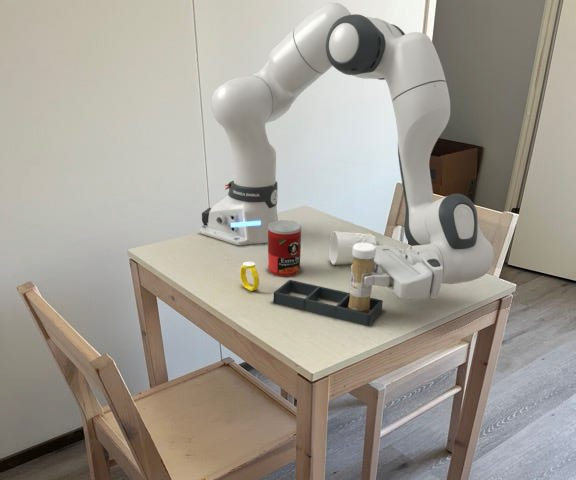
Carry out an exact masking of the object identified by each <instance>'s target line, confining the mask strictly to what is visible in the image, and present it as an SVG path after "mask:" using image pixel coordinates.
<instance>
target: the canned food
mask: <svg viewBox="0 0 576 480" xmlns="http://www.w3.org/2000/svg"><path fill="white" fill-rule="evenodd" d="M301 247H302V225H301V224H300V223H299V222H297V221H294V220H286V219H285V220H284V219H283V220H282V219H281V220H278V221H274V222H271V223H270V224H269V225H268V242H267V264H268V265H267V267H268V271H269V272H270V274H272V275H275V276H278V277H292V276H295V275H297V274H299V272H300V269H301V251H302V250H301V249H302V248H301Z"/></svg>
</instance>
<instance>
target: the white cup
mask: <svg viewBox="0 0 576 480" xmlns="http://www.w3.org/2000/svg"><path fill="white" fill-rule="evenodd" d="M357 243H370V244H373V245H375V246H376V245H378V241H377V237H376V236H375V234H371V233H370V234H367V233H362V232H349V231H348V232H347V231H335V230H334V231H333V232H332V233H331V235H330V238H329V247H328V254H329V260H330V263H331V265H333V266H334V265H338V266H339V265H352V264H353V255H352V251H353V246H354V245H355V244H357Z"/></svg>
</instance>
